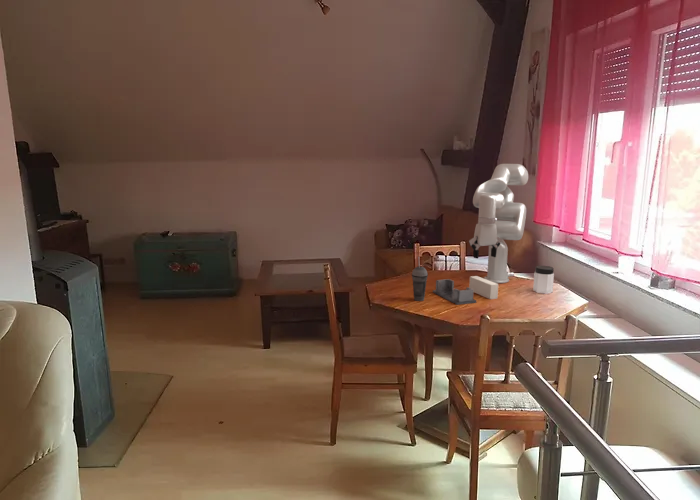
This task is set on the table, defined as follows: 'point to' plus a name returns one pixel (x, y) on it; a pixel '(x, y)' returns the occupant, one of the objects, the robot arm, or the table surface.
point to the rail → (484, 287)
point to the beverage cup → (419, 282)
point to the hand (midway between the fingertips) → (484, 257)
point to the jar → (543, 279)
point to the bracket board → (453, 292)
